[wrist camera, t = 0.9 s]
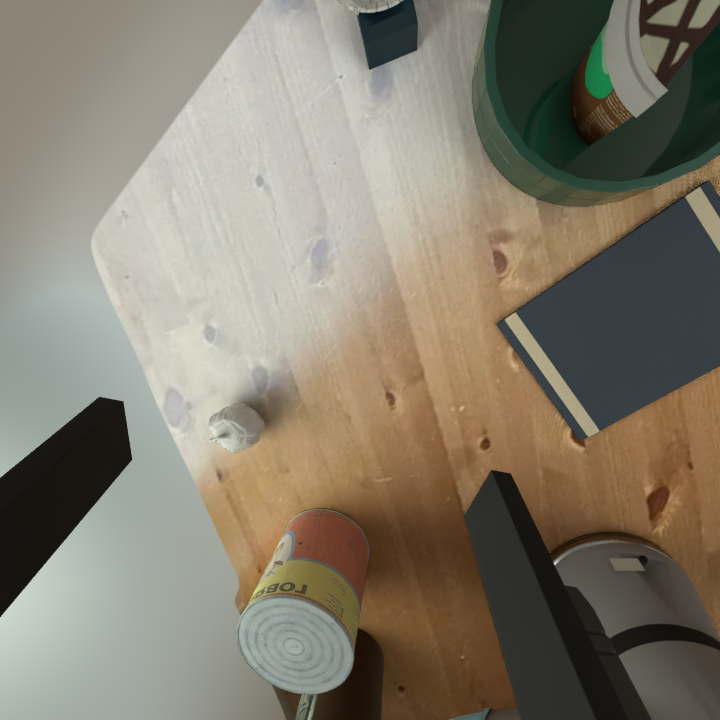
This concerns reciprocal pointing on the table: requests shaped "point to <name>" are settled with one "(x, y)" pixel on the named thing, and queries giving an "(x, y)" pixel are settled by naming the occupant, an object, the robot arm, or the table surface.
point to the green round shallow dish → (552, 116)
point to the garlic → (236, 427)
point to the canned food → (308, 605)
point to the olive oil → (351, 689)
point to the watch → (385, 28)
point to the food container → (635, 60)
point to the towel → (629, 318)
